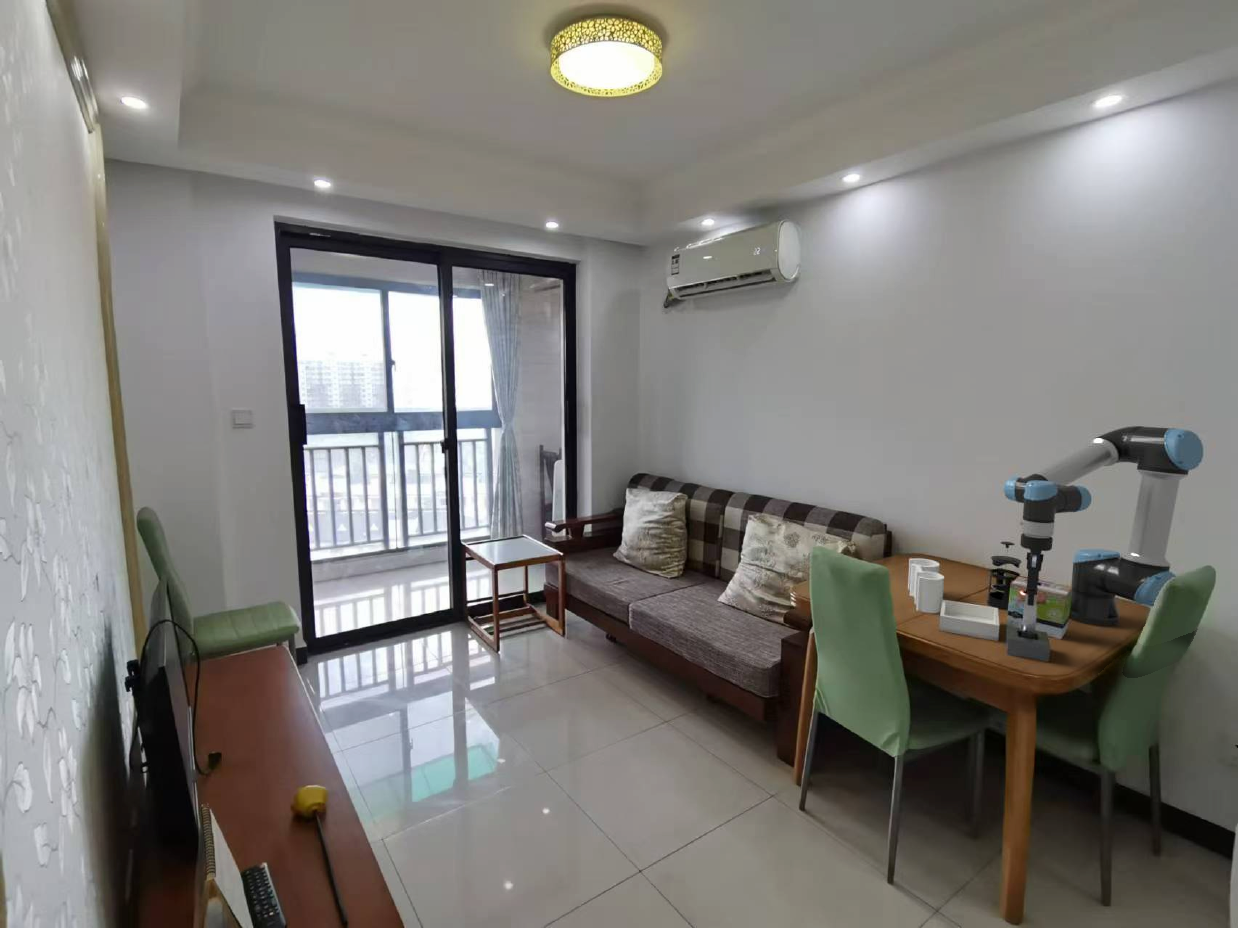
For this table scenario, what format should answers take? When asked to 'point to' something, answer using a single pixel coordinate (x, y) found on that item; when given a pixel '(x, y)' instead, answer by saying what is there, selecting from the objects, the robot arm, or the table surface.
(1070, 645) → the table surface
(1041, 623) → the tea box
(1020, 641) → the block
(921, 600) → the bracket
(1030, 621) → the copper slotted screw
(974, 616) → the tray
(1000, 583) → the french press
